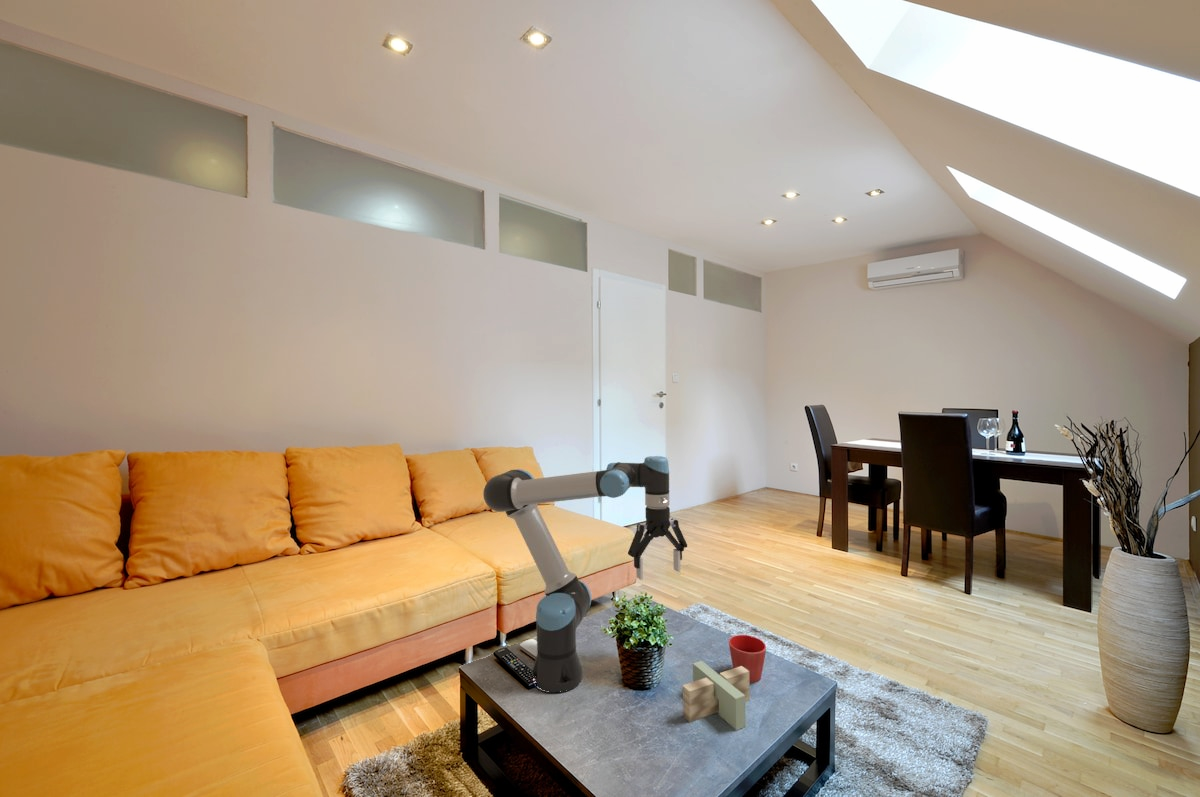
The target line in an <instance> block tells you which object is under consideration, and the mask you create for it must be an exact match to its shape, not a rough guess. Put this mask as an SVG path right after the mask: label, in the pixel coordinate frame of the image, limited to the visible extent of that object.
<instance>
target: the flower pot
mask: <svg viewBox="0 0 1200 797" xmlns="http://www.w3.org/2000/svg"><path fill="white" fill-rule="evenodd" d="M728 645H729V654H730V658H731V663H732V664H731V665H732V669H734V668H737V667H740V666H743V667H744V668H746V669H747V670H748V671H749V682H750V683H757V682H759V681H760V680H761V679H762V674H763V669H764V664H765V658H766V653H767V652H766V650H767V645H766V643H765V642H764V641H763V640H761V639H760V638H758V637H755V636H752V635H749V634H748V635H747V634H738V635H737V634H736V635H734V636H732V637H730V638H729V640H728Z"/></svg>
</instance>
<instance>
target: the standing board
mask: <svg viewBox="0 0 1200 797" xmlns="http://www.w3.org/2000/svg"><path fill="white" fill-rule="evenodd" d="M719 675H720V676H721V677H723V678H724V679H725V680H726V681H728V682H729V683H730V684H731V685H733V686H734V687H735V688H736V689H738V690H739V691H740V692H741V693H743V694H744V695H745V703H746V702H749V701H750V700H751V695H750V694H751V692H750V689H751V688H750V686H751V685H750V682H749V671H748V670H747V669H746V668H744V667H743V666H740V667H737V668H734V669H733V668H731V669H728V670H725V671H722V672H719ZM682 710H683V711H682V713H683V714H682V715H683V717H684V718H685V719H686V720H687V721H688V723H692V722H694V721H697V720H700V719H703V718H705V717H708V716H711V715H713V714H716V713H719V699H717V698H716V697H715V696H714V683H713V682H711V681H710V680H709V679H708V678H707V677H706V678H703V679H700V680H697V681H694V682H693V681H692V682H689V683H686V684H683V685H682Z"/></svg>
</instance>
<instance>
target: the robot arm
mask: <svg viewBox="0 0 1200 797" xmlns="http://www.w3.org/2000/svg"><path fill="white" fill-rule="evenodd" d="M669 466H670V464H669V460H668V458H667V457H665V456H660V455H656V456H655V455H653V456H652V455H651V456H647V457H645V458H644V461H643V462H620V461H618V462H609V464H607V466H606V469H604V470H597V471H587V472H580V473H579V472H578V473H572V474H565V475H555V476H547V477H540V478H535V477H534V475H532V474H531V473H530V472H529V471H527V470H524V469H520V468H517V469H510V470H508V471H506V472H504V473H501V474H497V475H495V476H493V477H491V478H490V479H488V481H487V482H486V484H485V486H484V488H483V494H482V495H483V499H484V500H483V501H484V502H485V504H486V506H487V507H488V508H490V509H491V510H492V511H495V512H497V513H498V512H499V513H500V512H501V513H502V512H503V513H504V512H505V514H506V516H507V518H509V519H513V520H514V523H515V524H516V526H517V528H518V530H519V532H520V534H521V536H522V538H523V540H524V542H525V544H526V546H527V549H528V550H529V552H530V554H531V556H532V559H533V560H534V563H535V564H536V567H537V568H538V572H540V573H539V574H540V576H541V577H542V580H543V582H544V583H545V589H544V591H543V592H544V595H545V596H544V597H543V598H541V599H539V601H538V603H537V605H536V612H535V613H536V614H535V620H536V647H537V648H536V650H537V651H536V653H537V654H536V657H535V661H534V664H533V667H532V670H531V676H532V675H533V676H534V678H535V679H536V682H537V686H538V687H539V688H541V689H542V690H545V691H549V692H560V691H561V692H562V691H566V690H569V691H571V690H573V689H575V688H576V687H578V686H579V685H580V684H581V683H582V680H583V667H582V664H581V661H580V657H579V656H578V653H577V636H576V635H577V634H576V633H577V632H576V631H577V629H578V627H579V626H580V624H581V623H582V621H583V619H584V618H585V617H586V616H587V614H588V613H589V610H590V607H591V603H592V594H591V590H590V588H589V587H588V585H587V584H586V583H585V582H584V581H581V580H579V578H578V576H577V575H576V573H574V572H571V571H570V570H569V569H568V566H567V564H566V562H565V561H564V558H563V556H562V554H561V552H560V550H559V548H558V546H557V543H556V542H555V539H554V538H553V536H552V534H551V532H550V529H549V528H548V526H547V524H546V522H545V520H544V518H543V516H542V513H541V512H540V510H539V508H538V505H539V504H545V503H554V502H555V503H558V502H565V501H573V500H582V499H583V500H584V499H592V498H601V497H602V498H603V497H608V498H612V499H616V498H618V497H621V496H623V495H624V494H625V493H626V492H627V491H628V490H629V488H644V490H645V491H644V497H645V499H644V503H645V504H644V505H645V523H644V524H641V523H637V524H636V531H635V533H634V536H633V538H632V542H631V544H630V546H629V550H628V551H627V555H629V556H630V557H632V558H633V567H634V568H636V569H635V571H636V573H635V574H636V578H637V579H638V580H640V581H641V580H642V581H643V580H644V562H643V561H644V559H643V557H642V555H644V554H643V553H644V552H645V551H646V549H647V547H648V546H649V544H650V543H651V541H653V540H654V538H659V537H662V538H663V537H666V539H667V540H668V541H669V542H670V543H671V544H672V545H673V547H674V548H673V549H672V550H673V551H672V553H673V554H672V555H673V557H672V558H673V560H672V561H673V570H674V571H675V572H677V573H681V561H682V560H683V552H684V551H685V549H686V548H688V544H687V541H686V538H685V537H684V535H683V532H682V531H681V529H680V524H679V520H677V519H676V518H673V517H672V518H671V515H670V513H671V512H670V509H671V508H670V507H669V506H670V468H669ZM670 518H671V519H670ZM670 527H671V528H672V530H673V532H674V535H675V536H676V537H675V536H673V533H672V532H671V531H670V529H669V528H670ZM535 676H536V677H535ZM579 683H580V684H579ZM578 684H579V685H578ZM577 685H578V686H577ZM574 687H575V688H574ZM572 688H573V689H572ZM570 689H571V690H570ZM566 692H567V691H566ZM562 693H563V692H562Z"/></svg>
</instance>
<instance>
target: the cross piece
mask: <svg viewBox="0 0 1200 797" xmlns="http://www.w3.org/2000/svg"><path fill="white" fill-rule="evenodd" d="M692 677H693V678H692V680H693V681H692V682H694V681H697V680H700V679H703V678H706V677H707V678H708V679H709V680H710V681H711V682H713V683H714V696H715V697H716V698H717V699H719V712H718V715H719V716H720V718H722V719H723V720H724V721H725V722H726V723H728V724H729V725H730V726H731V727H732V728H733V729H734V730H735V731H736V730H737V731H739V730H741V728H742V729H744V728H746V727H747V725H746V724H747V723H746V718H747V717H746V716H747V715H746V702H745V695H744V694H743V693H741V692H740V691H739V690H738V689H736V688H735V687H734V686H733V685H731V684H730V683H729V682H728V681H726V680H725V679H724V678H723V677H721V676H720V673H718V672H716V671H715V670H713V668H712V667H710V666H709V665H708V664H706V663H705V662H704V661H703V660H700V661H696V662H693V663H692Z"/></svg>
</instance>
